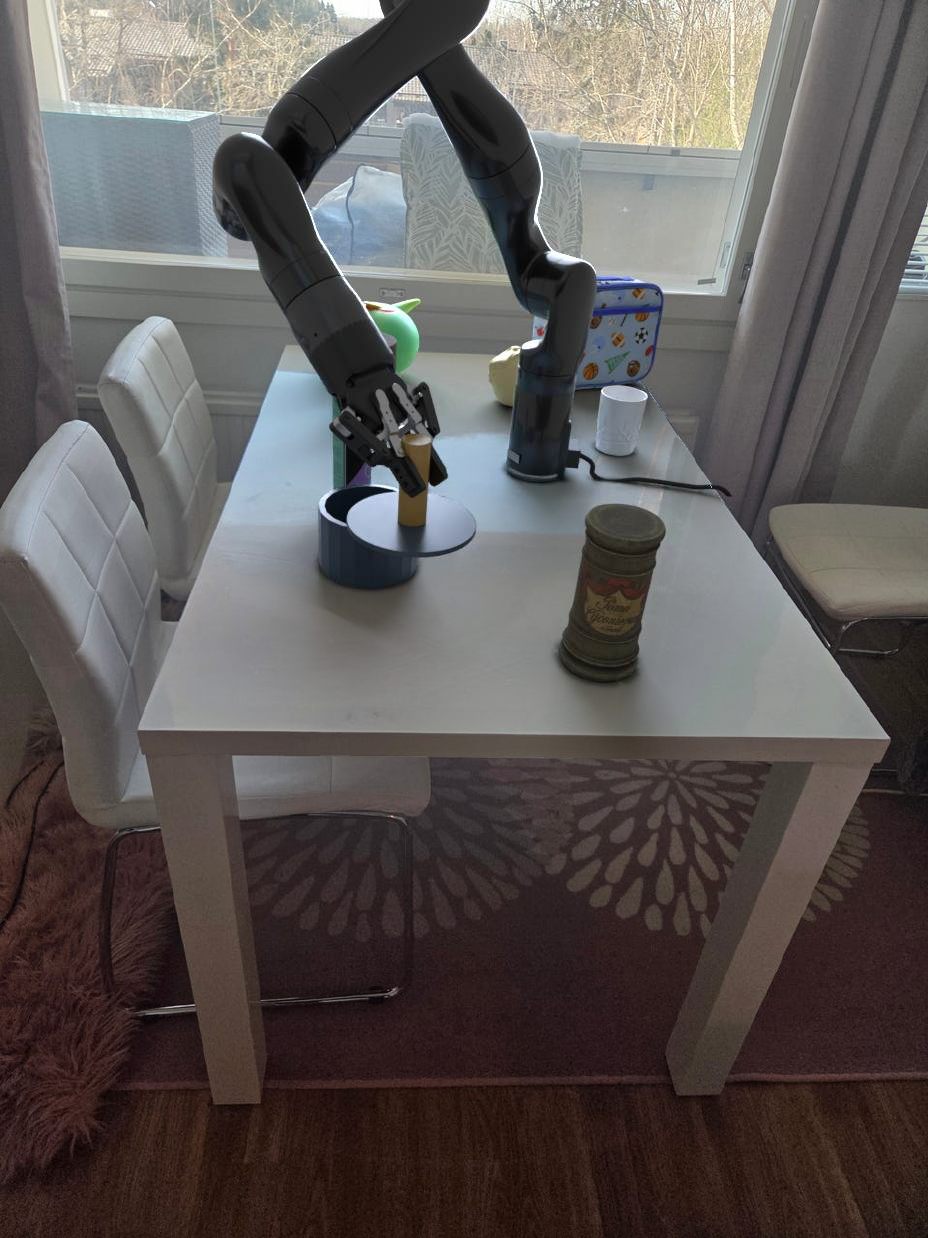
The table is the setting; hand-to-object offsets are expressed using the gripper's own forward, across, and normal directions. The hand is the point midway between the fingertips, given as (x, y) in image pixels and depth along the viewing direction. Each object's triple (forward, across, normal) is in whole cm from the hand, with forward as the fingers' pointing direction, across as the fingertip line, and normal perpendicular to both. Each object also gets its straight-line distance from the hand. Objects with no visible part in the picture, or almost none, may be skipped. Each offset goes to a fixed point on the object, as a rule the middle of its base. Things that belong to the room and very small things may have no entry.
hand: (430, 487), depth 87 cm
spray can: (-6, +22, +35) cm, 42 cm away
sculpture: (-10, +76, +39) cm, 86 cm away
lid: (+2, 0, +5) cm, 5 cm away
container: (+26, +12, +3) cm, 29 cm away
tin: (+3, +10, +26) cm, 28 cm away
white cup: (+7, +70, +22) cm, 73 cm away
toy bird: (-31, +69, +60) cm, 96 cm away
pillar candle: (-21, +50, +50) cm, 74 cm away
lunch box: (-7, +97, +36) cm, 104 cm away
